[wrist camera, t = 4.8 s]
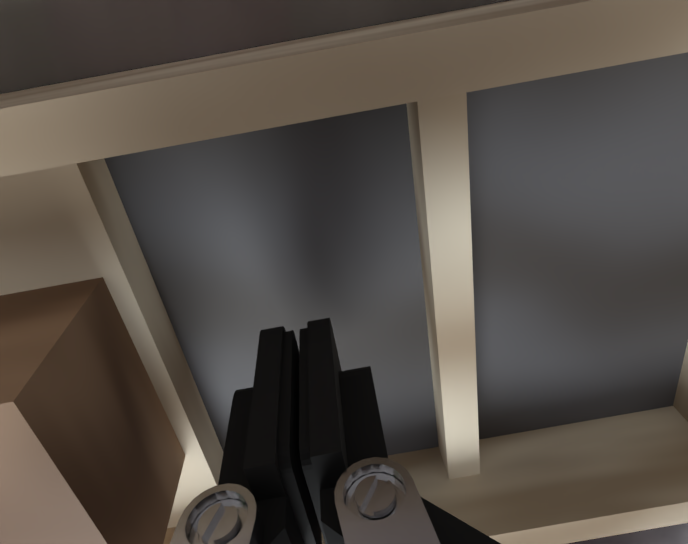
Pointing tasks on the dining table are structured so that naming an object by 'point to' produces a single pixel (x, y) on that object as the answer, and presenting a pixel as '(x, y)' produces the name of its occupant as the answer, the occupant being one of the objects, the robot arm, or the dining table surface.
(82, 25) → the dining table surface
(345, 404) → the robot arm
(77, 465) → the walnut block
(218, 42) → the dining table surface
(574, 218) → the track
